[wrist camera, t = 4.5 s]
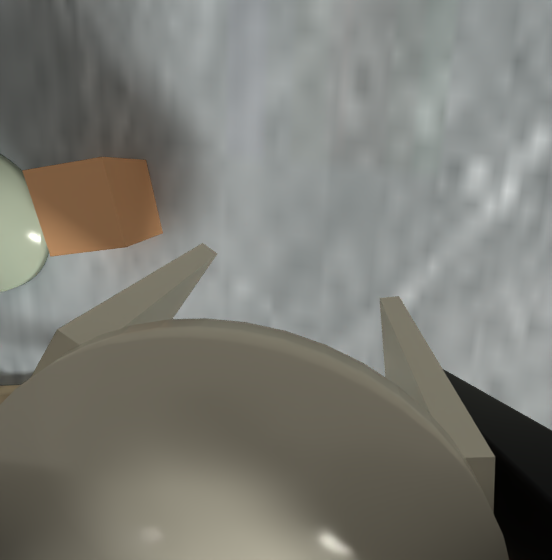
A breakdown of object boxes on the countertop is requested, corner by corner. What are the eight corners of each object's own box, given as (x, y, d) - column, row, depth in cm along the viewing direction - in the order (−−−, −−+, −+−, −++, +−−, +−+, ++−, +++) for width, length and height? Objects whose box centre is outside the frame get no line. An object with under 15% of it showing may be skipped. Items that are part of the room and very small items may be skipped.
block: (163, 232, 20) (126, 247, 16) (100, 241, 21) (50, 256, 17) (146, 159, 19) (102, 156, 15) (80, 170, 19) (22, 170, 16)
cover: (407, 451, 11) (503, 769, 5) (188, 456, 12) (64, 716, 6) (394, 217, 9) (529, 306, 3) (132, 251, 10) (-126, 361, 4)
